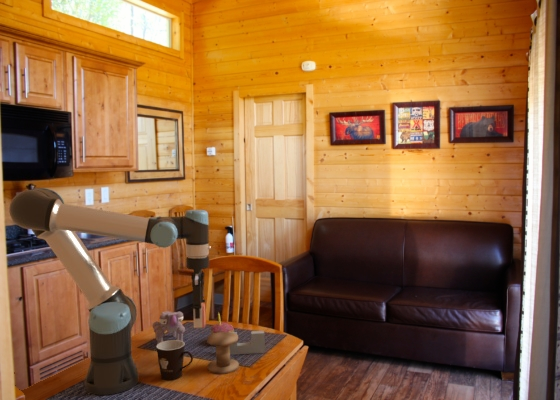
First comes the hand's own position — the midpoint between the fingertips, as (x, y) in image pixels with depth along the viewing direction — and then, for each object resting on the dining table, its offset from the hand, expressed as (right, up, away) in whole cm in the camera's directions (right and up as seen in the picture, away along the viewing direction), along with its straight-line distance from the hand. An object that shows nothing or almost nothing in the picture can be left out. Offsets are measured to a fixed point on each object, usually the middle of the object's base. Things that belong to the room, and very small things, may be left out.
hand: (198, 324), depth 164 cm
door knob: (+9, -12, -6) cm, 17 cm away
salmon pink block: (0, 0, 0) cm, 1 cm away
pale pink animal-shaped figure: (-13, -11, +14) cm, 22 cm away
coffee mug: (-5, -13, -14) cm, 20 cm away
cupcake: (+6, -11, +16) cm, 21 cm away
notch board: (+15, -11, +6) cm, 20 cm away
